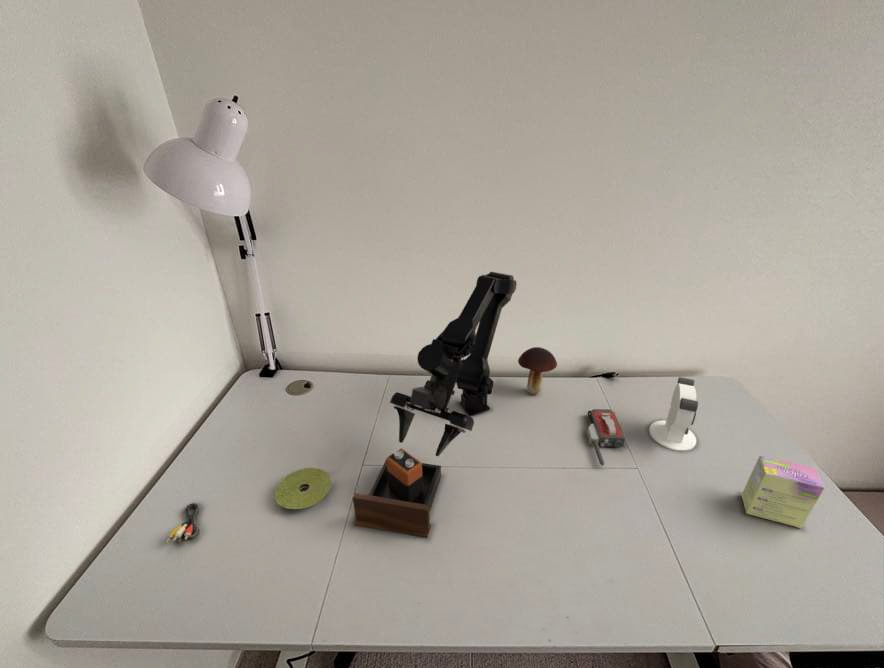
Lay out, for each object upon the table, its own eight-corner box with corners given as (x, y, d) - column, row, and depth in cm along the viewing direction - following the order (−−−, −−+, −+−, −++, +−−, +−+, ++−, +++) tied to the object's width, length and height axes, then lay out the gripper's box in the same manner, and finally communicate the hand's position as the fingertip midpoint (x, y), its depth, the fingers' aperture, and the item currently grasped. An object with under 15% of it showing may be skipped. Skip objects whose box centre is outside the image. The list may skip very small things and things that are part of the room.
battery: (403, 477, 97) (401, 443, 92) (424, 494, 93) (422, 459, 89) (387, 488, 94) (384, 454, 90) (408, 506, 90) (406, 471, 86)
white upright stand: (698, 457, 107) (716, 408, 99) (649, 445, 110) (664, 397, 103) (693, 427, 117) (710, 380, 109) (649, 417, 120) (662, 371, 113)
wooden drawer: (382, 467, 101) (380, 444, 97) (446, 477, 98) (446, 454, 95) (354, 525, 87) (350, 500, 83) (427, 538, 85) (426, 513, 81)
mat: (292, 525, 86) (291, 518, 85) (266, 493, 93) (265, 487, 92) (342, 493, 94) (341, 486, 93) (315, 466, 100) (314, 459, 99)
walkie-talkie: (579, 415, 120) (597, 468, 102) (581, 402, 118) (600, 454, 100) (611, 415, 120) (634, 469, 102) (614, 402, 118) (638, 455, 100)
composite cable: (188, 506, 89) (184, 498, 88) (213, 503, 90) (210, 495, 89) (167, 549, 81) (163, 540, 80) (195, 545, 82) (191, 537, 81)
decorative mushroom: (507, 391, 128) (511, 347, 121) (532, 378, 135) (537, 335, 128) (536, 409, 122) (541, 363, 114) (560, 394, 128) (567, 349, 121)
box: (793, 507, 94) (816, 467, 88) (801, 529, 89) (825, 488, 84) (740, 494, 97) (758, 454, 91) (745, 514, 92) (764, 473, 86)
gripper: (391, 361, 94) (364, 431, 91) (469, 384, 87) (442, 461, 84) (413, 374, 104) (389, 437, 101) (484, 395, 97) (461, 464, 94)
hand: (418, 449), depth 95 cm, fingers open, 9 cm apart
